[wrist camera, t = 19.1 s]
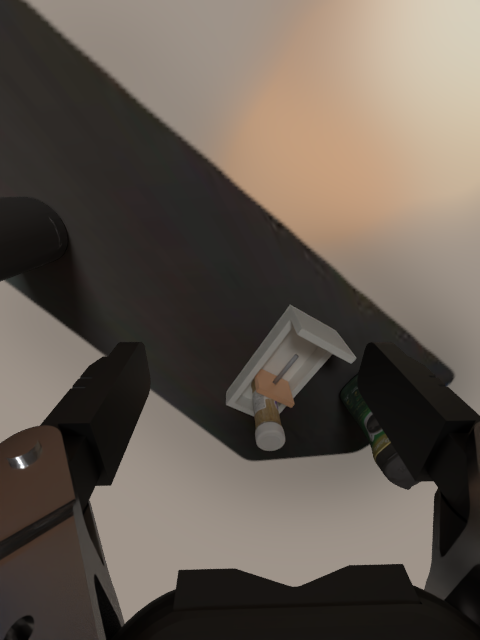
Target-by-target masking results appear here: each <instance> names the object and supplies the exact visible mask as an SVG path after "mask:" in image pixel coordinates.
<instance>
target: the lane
mask: <svg viewBox="0 0 480 640" xmlns="http://www.w3.org/2000/svg"><path fill="white" fill-rule="evenodd" d="M295 354H297V355H298V356H299V357H298V358H297V360H296V361H295V362H294V363H293V365H292V366H291V367H290V368H289V369H288V371H287V372H286V373H285V374H284V375H283V377H282V379H284V380H286V381H288V383H289V386H290V390H291V393H292V397H293V398H294V397H295V396H296V395H297V394H298V392H299V391H300V390H301V389H302V388H303V387H304V386H305V385H306V383H307V382H308V381H309V380H310V379H311V378H312V377H313V376H314V374H315V373H316V372H317V371H318V370H319V369H320V368H321V367H322V365H323V364H324V363H325V362H326V361H327V360H328V359H329V357H330V356H331V355H332V354H334V355H336V356H338V357H340V358H342V359H343V360H345V361H347V362H349V363H351V364H352V362H353V361H354V360H355V359H356V357H355V355H354V354H353V353H352V351H351V350H350V349H349V347H348V346H347V345H346V343H345V342H344V341H343V339H342V338H341V337H340V335H339V334H338V333H337V331H336V330H334V329H332V328H330V327H329V326H327V325H325V324H323V323H322V322H320V321H318V320H316V319H314V318H313V317H311V316H309V315H307V314H306V313H304V312H302V311H300V310H299V309H297V308H295V307H293V306H292V305H289V307H288V308H287V310H286V311H285V312H284V314H283V315H282V316H281V318H280V319H279V321H278V322H277V323H276V325H275V326H274V327H273V329H272V330H271V331H270V333H269V334H268V336H267V337H266V338H265V340H264V341H263V342H262V344H261V345H260V346H259V348H258V349H257V351H256V352H255V353H254V355H253V356H252V357H251V359H250V360H249V362H248V363H247V364H246V366H245V367H244V368H243V370H242V371H241V372H240V374H239V375H238V377H237V378H236V379H235V381H234V382H233V383H232V385H231V386H230V388H229V389H228V390H227V392H226V405H228V406H230V407H232V408H235V409H237V410H239V411H242V412H244V413H247V414H249V415H251V416H254V409H253V398H252V395H253V393H252V388H251V383H252V381H253V380H254V379H255V376H256V374H257V373H258V372H259V370H260V369H263V370H265V371H267V372H269V373H272V374H274V375H276V376H278V374H279V373H280V372H281V371H282V369H283V368H284V367H285V366H286V365H287V363H288V362H289V361H290V360H291V358H292V357H293V356H294V355H295ZM277 405H278V410H279V414H280V413H281V412H282V410H283V409H284V408H285V407H286V405H284V404H282V403H279V402H277Z"/></svg>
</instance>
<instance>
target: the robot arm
mask: <svg viewBox="0 0 480 640" xmlns="http://www.w3.org/2000/svg"><path fill="white" fill-rule="evenodd" d="M67 243H68V237H67V232H66V229H65V226H64V224H63V222H62V221H61V219H60V217H59V216H58V215H57V214H56V213H55V211H53V210H52V209H51V208H50V207H49V206H48V205H46V204H44V203H43V202H41V201H39V200H36V199H34V198H29V197H0V281H3V280H5V279H8V278H11V277H13V276H16V275H18V274H21V273H24V272H26V271H29V270H31V269H34V268H37V267H39V266H42V265H45V264H47V263H50V262H52V261H55V260H57V259H59V258H60V257H61V256H62V255H63V254H64V252H65V251H66V248H67ZM357 385H358V390H359V393H360V395H361V396H362V398H363V399H364V401H365V403H366V404H367V406H368V407H369V409H370V410H371V412H372V414H373V415H374V417H375V418H376V420H377V422H378V423H379V425H380V426H381V428H382V430H383V431H384V433H385V434H386V436H387V437H388V439H389V441H390V442H391V444H392V445H393V447H394V449H395V450H396V452H397V453H398V455H399V456H400V458H401V460H402V461H403V463H404V464H405V466H406V468H407V469H408V471H409V472H410V474H411V476H412V477H413V479H414V480H415V482H418V481H434V482H435V484H436V485H437V486H438V489H437V491H436V493H435V496H434V517H433V520H434V521H433V542H432V563H431V568H430V573H429V576H428V579H427V581H426V585H425V589H424V590H423V589H420V588H418V587H416V586H413V585H412V583H411V581H410V579H409V577H408V575H407V572H406V570H405V568H404V566H403V564H390V565H389V564H388V565H349V566H347V567H344V568H342V569H339V570H337V571H335V572H332V573H330V574H328V575H325V576H323V577H321V578H318V579H316V580H314V581H311V582H309V583H306V584H304V585H302V586H298V587H291V586H287V585H284V584H281V583H278V582H275V581H272V580H269V579H266V578H262V577H259V576H256V575H253V574H250V573H247V572H244V571H241V570H238V569H201V570H179V571H178V579H177V585H176V589H175V590H173V591H170V592H168V593H166V594H164V595H162V596H161V597H159V598H157V599H155V600H154V601H152V602H151V603H149V604H148V605H146V606H145V607H144V608H142V609H141V610H140V611H138V612H137V613H136V614H135V615H134V616H133V617H132V618H131V619H130V620H128V621H127V622H126V623H125V624H124V620H123V616H122V613H121V609H120V607H119V603H118V599H117V596H116V593H115V590H114V587H113V585H112V581H111V578H110V575H109V572H108V568H107V564H106V561H105V557H104V553H103V550H102V545H101V541H100V538H99V534H98V530H97V526H96V522H95V519H94V515H93V512H92V507H91V504H90V501H89V499H90V496H91V494H92V492H93V490H94V488H95V486H105V485H106V486H107V485H111V484H112V482H113V479H114V477H115V474H116V472H117V470H118V467H119V465H120V462H121V460H122V458H123V455H124V453H125V450H126V448H127V446H128V443H129V440H130V438H131V436H132V434H133V431H134V429H135V426H136V424H137V421H138V419H139V417H140V414H141V412H142V409H143V407H144V405H145V402H146V400H147V397H148V395H149V391H150V373H149V368H148V362H147V356H146V351H145V346H144V344H143V343H142V342H120V343H118V344H117V346H116V347H115V348H114V349H113V351H112V352H111V353H110V355H109V356H108V357H102V358H100V359H99V360H97V361H96V362H94V363H93V364H91V365H90V366H89V367H88V368H87V369H86V370H85V372H84V373H83V374H82V375H81V377H80V379H78V380H77V381H76V382H75V384H74V385H73V388H72V389H70V390H69V391H68V392H67V394H66V395H65V396H64V397H63V398H62V400H61V401H60V402H59V403H58V404H57V406H56V407H55V408H54V409H53V410H52V412H51V413H50V414H49V415H48V417H47V418H46V419H45V420H44V422H43V423H42V424H41V425H40V426H36V427H32V428H28V429H25V430H23V431H20V432H18V433H16V434H14V435H12V436H11V437H9V438H7V439H6V440H5V441H3V442H2V443H0V640H480V416H479V415H478V414H477V413H476V412H475V411H474V410H473V409H472V408H471V407H470V406H468V405H467V404H466V403H465V402H464V401H463V400H462V399H461V398H460V397H458V396H457V395H456V394H455V393H454V392H453V391H452V390H451V389H450V388H449V387H446V386H445V384H444V383H443V382H442V381H441V380H440V379H439V378H436V377H435V375H434V374H433V373H432V372H431V371H430V370H429V369H428V368H427V367H425V366H424V365H423V364H421V363H419V362H418V361H416V360H414V359H412V358H411V357H409V356H407V355H406V354H405V353H404V352H403V351H402V350H401V349H400V348H398V347H397V346H396V345H395V344H394V343H391V342H371V343H368V344H367V346H366V348H365V351H364V355H363V359H362V362H361V366H360V370H359V374H358V378H357Z"/></svg>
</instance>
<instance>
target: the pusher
mask: <svg viewBox="0 0 480 640" xmlns="http://www.w3.org/2000/svg"><path fill="white" fill-rule="evenodd" d="M298 357H299V356H298V355H297V354H295V355H294V356H293V357H292V358H291V360H290V361H289V362H288V363H287V365H286V366H285V367H284V368H283V369H282V371H281V372H280V373H279V374H278V376H276V375H274V374H272V373H269V372H267V371H265V370H263V369H260V370H259V372H258V373H257V374H256V376H255V386H256V392H257V393H259V394H262V395H264V396H266V397H268V398H270V399H273V400H275V401H277V402H279V403H282V404H284V405H286V406H288V407H291V408H292V407H293V406H294V400H293V397H292V393H291V390H290V386H289V383H288V381H286V380H284V379H282V377H283V375H284V374H285V373H286V372H287V371H288V369H289V368H290V367H291V366H292V365H293V363H294V362H295V361H296V360H297V358H298Z"/></svg>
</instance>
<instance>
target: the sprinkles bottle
mask: <svg viewBox="0 0 480 640" xmlns="http://www.w3.org/2000/svg"><path fill="white" fill-rule="evenodd" d="M251 388H252V393H253V395H252V398H253V409H254V419H255V426H256V431H255V438H256V444H257V446H258V447H259V448H261V449H262V450H265V451H274V450H277V449H279V448H281V447H282V446H283V445H284V443H285V434H284V430H283V428H282V426H281V422H280V417H279V410H278V405H277V401H275V400H273V399H270V398H268V397H266V396H264V395H262V394H259V393H257V392H256V386H255V379H254V380H253V381H252V383H251Z"/></svg>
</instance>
